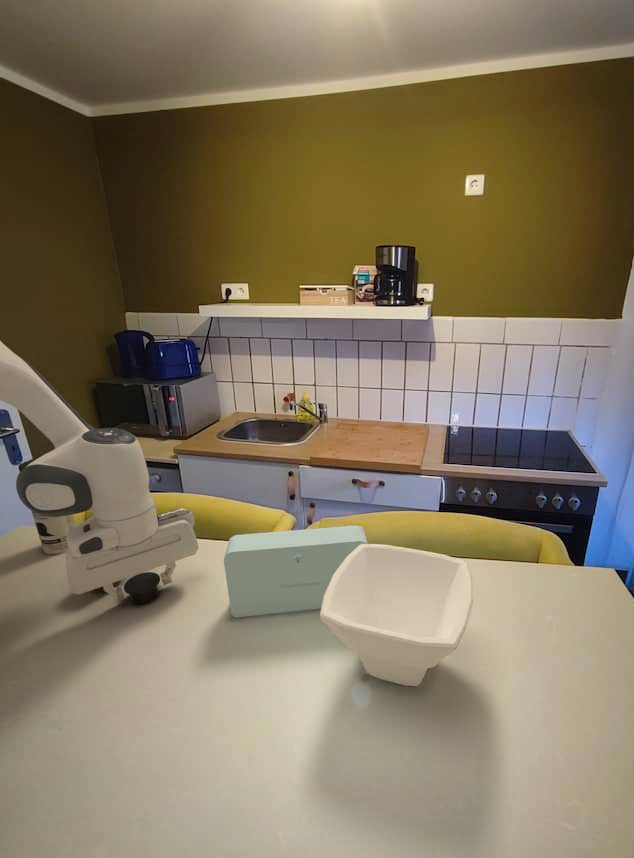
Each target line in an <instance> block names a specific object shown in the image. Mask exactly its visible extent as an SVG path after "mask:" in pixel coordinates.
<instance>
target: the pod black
mask: <svg viewBox="0 0 634 858" xmlns="http://www.w3.org/2000/svg"><path fill="white" fill-rule="evenodd" d="M160 582H161V575H160V574H159V573H156V572H153V571H146V572H143V573H140V574H137V575H134V576H131V577H129V579H128V580H127V581H125V582H124V584H123V590H124V591H123V592H125V593H126V594H128V595H129V598H130V602H131V604H132V605H134V606H143V605H148V604H150V603H153V602H154V601H156V599H157V598H158V597H159V595H160V589H159V584H160Z"/></svg>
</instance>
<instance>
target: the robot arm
mask: <svg viewBox="0 0 634 858" xmlns="http://www.w3.org/2000/svg"><path fill="white" fill-rule="evenodd" d="M0 402H4V403H5V404H8V405H10V406H12V407H14V408H15V409H17V410H18V411H19V412H21V413H22V415H24V416H25V417H26V418H27V419H28V420H29V421H30V422H31V423H32V424H33V425H34V426H35V427H36V428H37V429H38V430H39V431H40V432H41V433H42V434H43V435H44V436H45V437H46V438H47V439H48V440H49V441H50V442H51V443H52V444H53V446H54V448H53V449H52V450H50V451H49V452H47V453H44V454H42V455H41V456H40V457H37V458H38V459H36V460H35V461H33V462H32V463H30V464H29V465H27V466H26V467H25V468H24V469H22V470H21V471H19V473H18V475H17V477H16V480H15V489H16V493H17V495H18V496H17V497H18V498H19V500H20V501H21V503H22V504H23V505H24V506H25V507H26V508H27V509H29V510H30V511H31V512H32V511H33V512H35V513H37V514H39V515H42V516H47V517H61V516H67V515H73V516H74V515H77V514H82V513H85V512H87V511H91V512H92V513H93V516H92V517H90V518H88V519H86V520H84V521H83V522H81V523H79V524H76V526H75V527H73V528H72V529H70V530H69V531H68V533H67V545H68V548H69V549H68V550H67V551H66V552H65V564H66V565H65V566H66V575H67V582H68V587H69V590H70V592H71V593H73V594H74V595H83V594H85V593H87V592H91V591H94V589H97V588H99V587H102V586H103V588H104V591H105V592H104V593H107V594H108V595H110V596H112V597H113V600H114V603H115V604H118V603H120V602H123V601H125V600H126V599H125V594H124V591H123V588H122V587H121V586H120V587H116V588H114V587H113V584H112V583H114V582H117V581H120V580H121V581H122V580H125V579H128V578H132V577H133V576H135V575H138V574H141V573H145V572H150V571H151V570H154V569H158V568H160V567H163V566H166V567H165V569H164V571H163V572H160V574H159V576H160V581H161V583H162V585H163V586H166V585H169V584H171V583H173V578H172V575H173V573H174V571H175V569H176V567H177V564H176V562H177V561H180V560H183V559H186V558H189V557H192V556H195V555H196V554H197V552H198V551H199V543H198V539H197V535H196V532H195V530H194V528H193V527H194V526H195V522H196V521H195V515H194V513H193V511H192V510H190V509H186V508H185V509H184V507H181V508H176V509H175V510H171V511H166V512H163V513H157V509H156V504H155V499H154V497H153V494H151V492H150V486H149V485H150V475H149V469H148V466H147V462H146V458H145V454H144V451H143V448H142V446H141V444H140V442H139V440H138V438H137V437H136V436H135V435H134V434H133V433H131V432H130V431H127V430H125V429H122V428H115V427H104V428H103V427H102V428H94V427H93V426H92V425H91V424H89V423H88V422H87V421H86V420H85V419H84V418H83V417H82V415H80V413H78V411H76V409H75V408H74V407H72V405H71V404H70V403H69V401H67V400H66V399H65V398H64V397H63V396H62V394H61V393H59V392H58V390H56V388H55V387H54V386H53V385H52V384H51V383H50V381H48V380H47V379H46V377H44V376H43V375H42V374H41V373H40V372H39V371H38V370H36V368H35V367H34V366H32V365H31V364H30V363H29V362H27V361H26V360H25V359H23V358H22V357H20V356H19V355H17V354H16V353H15V352H13V350H12V349H10V348H9V347H8V346H7V345H5V344H4V343H3V342H2V341H1V340H0Z"/></svg>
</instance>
